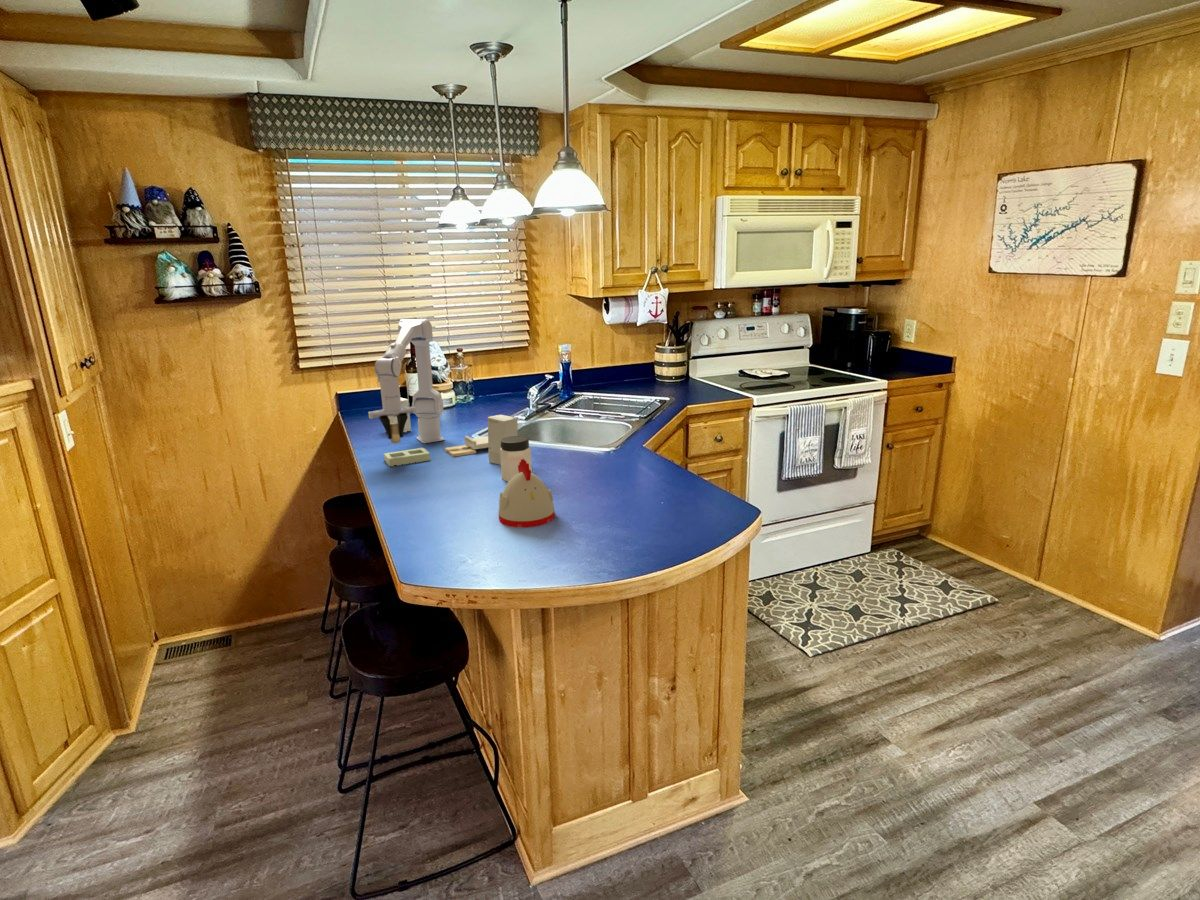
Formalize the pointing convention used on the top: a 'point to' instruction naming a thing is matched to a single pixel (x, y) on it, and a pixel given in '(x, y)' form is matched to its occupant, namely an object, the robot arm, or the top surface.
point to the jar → (514, 455)
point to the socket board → (406, 456)
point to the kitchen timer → (525, 500)
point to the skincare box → (499, 434)
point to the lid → (476, 442)
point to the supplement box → (407, 425)
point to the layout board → (460, 450)
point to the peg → (395, 433)
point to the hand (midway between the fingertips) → (395, 437)
